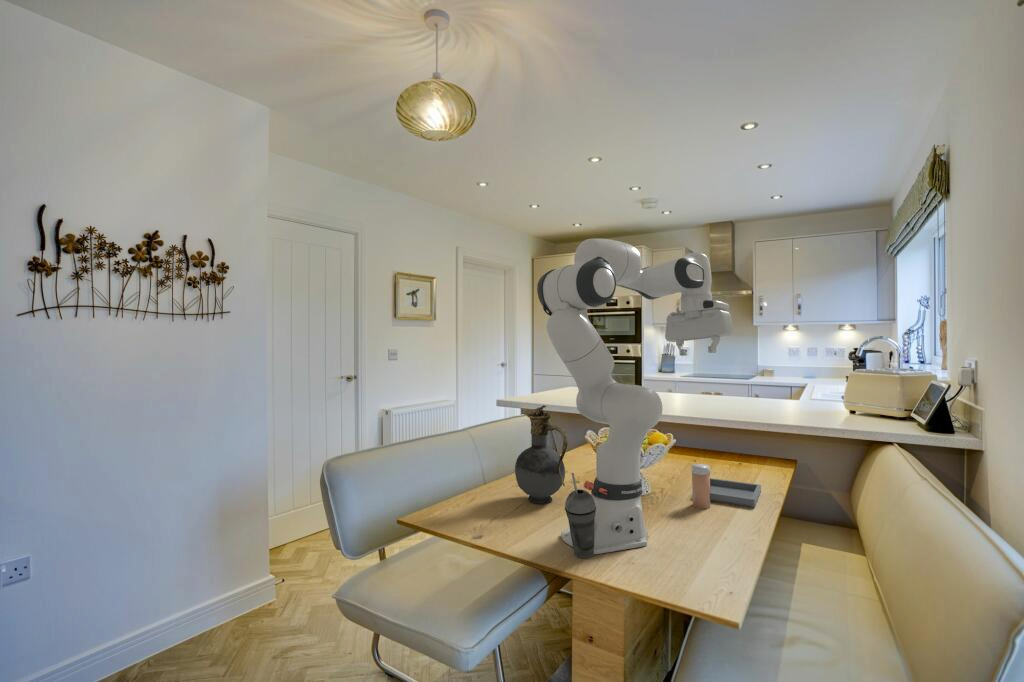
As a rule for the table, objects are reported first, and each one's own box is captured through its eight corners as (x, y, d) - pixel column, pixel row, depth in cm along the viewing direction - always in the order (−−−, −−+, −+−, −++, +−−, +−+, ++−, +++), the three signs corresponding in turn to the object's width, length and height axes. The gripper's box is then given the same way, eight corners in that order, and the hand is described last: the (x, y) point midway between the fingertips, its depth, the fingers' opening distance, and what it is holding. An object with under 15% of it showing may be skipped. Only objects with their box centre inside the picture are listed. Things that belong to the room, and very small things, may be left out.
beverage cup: (599, 563, 111) (593, 479, 108) (567, 562, 112) (560, 479, 109) (599, 544, 118) (593, 466, 115) (569, 544, 119) (563, 466, 116)
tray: (754, 508, 144) (754, 499, 144) (694, 498, 153) (694, 490, 153) (761, 492, 158) (760, 484, 158) (705, 484, 167) (705, 477, 167)
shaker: (702, 510, 143) (702, 469, 143) (688, 505, 147) (687, 465, 147) (714, 506, 145) (713, 466, 145) (700, 501, 150) (699, 462, 150)
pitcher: (534, 491, 163) (533, 401, 163) (579, 504, 149) (577, 406, 149) (510, 498, 156) (509, 404, 155) (555, 513, 142) (553, 410, 142)
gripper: (660, 311, 151) (660, 355, 149) (722, 300, 135) (723, 349, 133) (673, 314, 155) (673, 358, 153) (734, 304, 138) (736, 352, 136)
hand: (697, 354), depth 142 cm, fingers open, 8 cm apart
